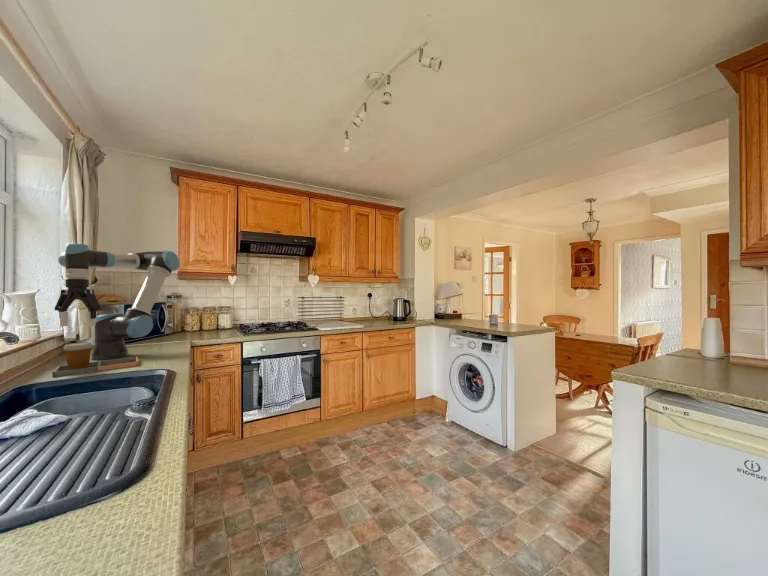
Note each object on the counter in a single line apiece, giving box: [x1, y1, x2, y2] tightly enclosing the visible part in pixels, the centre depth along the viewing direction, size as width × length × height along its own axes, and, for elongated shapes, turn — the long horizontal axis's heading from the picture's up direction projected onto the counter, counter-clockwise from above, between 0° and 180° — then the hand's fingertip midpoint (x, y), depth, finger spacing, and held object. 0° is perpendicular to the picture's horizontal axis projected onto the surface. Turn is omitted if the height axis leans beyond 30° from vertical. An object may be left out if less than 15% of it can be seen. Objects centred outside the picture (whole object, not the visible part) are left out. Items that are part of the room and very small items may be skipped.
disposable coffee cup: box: [63, 341, 94, 370], centre depth 143 cm, size 10×10×12 cm
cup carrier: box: [52, 356, 140, 378], centre depth 147 cm, size 15×28×2 cm, turn 129°
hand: (77, 326), depth 143 cm, fingers open, 13 cm apart
